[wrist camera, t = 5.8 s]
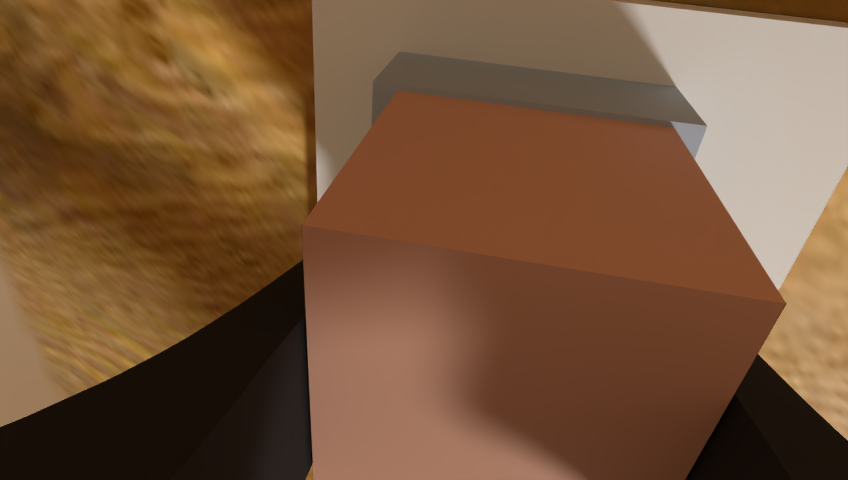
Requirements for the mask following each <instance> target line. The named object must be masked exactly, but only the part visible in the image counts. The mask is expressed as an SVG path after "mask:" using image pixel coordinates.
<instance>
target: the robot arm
mask: <svg viewBox="0 0 848 480" xmlns="http://www.w3.org/2000/svg"><path fill="white" fill-rule="evenodd" d="M312 463H313V456H312V435H311V414H310V393H309V372H308V351H307V329H306V308H305V287H304V266H303V260H302V261H300V262H299V263H298V264H296V265H295V266H294V267H292V268H291V269H289V270H288V271H287V272H285V273H284V274H283V275H281V276H280V277H279V278H277V279H276V280H274V281H273V282H272V283H270V284H269V285H267V286H266V287H264V288H263V289H262V290H260V291H259V292H257V293H256V294H254V295H253V296H252V297H250V298H249V299H247V300H246V301H244V302H243V303H241V304H240V305H238V306H237V307H235V308H234V309H232V310H231V311H229V312H227V313H226V314H224V315H223V316H221V317H219V318H218V319H216V320H215V321H213V322H212V323H210V324H208V325H207V326H205V327H204V328H202V329H200V330H199V331H197V332H196V333H194V334H193V335H191V336H189V337H187V338H186V339H184V340H182V341H181V342H179V343H177V344H175V345H173V346H172V347H170V348H168V349H166V350H165V351H163V352H161V353H159V354H157V355H155V356H153V357H151V358H150V359H148V360H146V361H144V362H142V363H140V364H138V365H136V366H134V367H132V368H130V369H128V370H127V371H125V372H123V373H121V374H119V375H117V376H115V377H113V378H111V379H109V380H106V381H104V382H102V383H100V384H98V385H95V386H93V387H91V388H89V389H87V390H84V391H82V392H80V393H78V394H76V395H73V396H71V397H69V398H67V399H64V400H62V401H60V402H58V403H56V404H53V405H51V406H49V407H47V408H44V409H42V410H40V411H38V412H36V413H34V414H31V415H29V416H27V417H24V418H22V419H20V420H17V421H15V422H12V423H10V424H7V425H5V426H2V427H0V480H305V479H306V477H307V475H308V472H309V470H310V468H311V466H312ZM685 480H848V441H847V440H846V439H845V438H844V437H843V436H842V435H841V434H840V433H839V432H837V431H836V430H835V429H834V428H833V427H832V426H831V425H830V424H829V423H828V422H827V421H826V420H825V419H824V418H823V417H821V416H820V415H819V414H818V413H817V412H816V411H815V410H814V409H813V408H812V407H811V406H810V405H809V404H808V403H807V402H806V401H805V400H804V399H803V398H802V397H801V396H799V395H798V394H797V393H796V392H795V391H794V390H793V389H792V388H791V387H790V386H789V385H788V384H787V383H786V382H785V381H784V380H783V379H782V378H781V377H780V376H779V375H778V374H777V373H776V372H775V371H774V370H773V369H772V368H771V367H770V366H769V365H768V364H767V363H766V362H765V361H764V360H763V359H762V358H761V357H760V356H759V355H758V354H757V356H756V357H755V359H754V361H753V363H752V364H751V366H750V368H749V370H748V371H747V373H746V375H745V377H744V378H743V380H742V382H741V383H740V385H739V387H738V389H737V390H736V392H735V394H734V396H733V397H732V399H731V401H730V403H729V404H728V406H727V408H726V410H725V411H724V413H723V415H722V416H721V418H720V420H719V422H718V423H717V425H716V427H715V429H714V430H713V432H712V434H711V436H710V437H709V439H708V441H707V442H706V444H705V446H704V448H703V449H702V451H701V453H700V455H699V456H698V458H697V460H696V462H695V463H694V465H693V467H692V469H691V470H690V472H689V474H688V475H687V477H686V479H685Z"/></svg>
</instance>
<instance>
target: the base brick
mask: <svg viewBox="0 0 848 480" xmlns="http://www.w3.org/2000/svg"><path fill="white" fill-rule="evenodd" d="M397 91H406V92H413V93H421V94H428V95H435V96H443V97H450V98H458V99H465V100H472V101H480V102H487V103H495V104H502V105H509V106H517V107H524V108H532V109H539V110H546V111H554V112H561V113H569V114H576V115H583V116H591V117H598V118H606V119H613V120H620V121H628V122H635V123H643V124H650V125H657V126H665V127H672V128H675V129H676V131H677V133H678V134H679V136H680V137H681V139H682V140H683V142H684V144H685V145H686V147H687V148H688V150H689V151H690V153H691V155H692V156H693V158H694V159H695V157H696V154H697V152H698V149H699V147H700V144H701V141H702V139H703V136H704V134H705V131H706V128H707V125H706V124H705V122H704V121H703V120H702V119H701V117H700V116H699V115H698V113H697V112H696V111H695V110H694V108H693V107H692V106H691V105H690V103H689V102H688V101H687V100H686V98H685V97H684V96H683V95H682V93H681V92H680V91H679V89H678V88H677V87H673V86H666V85H658V84H650V83H642V82H634V81H627V80H619V79H611V78H603V77H595V76H587V75H580V74H572V73H564V72H556V71H548V70H541V69H533V68H525V67H517V66H509V65H501V64H494V63H486V62H478V61H470V60H462V59H455V58H447V57H439V56H431V55H423V54H416V53H408V52H400V51H399V52H398V54H397V55H396V56H395V57H394V58H393V59H392V60H391V61H390V63H389V64H388V65H387V66H386V67H385V68H384V69H383V70H382V72H381V73H380V74H379V75H378V76H377V77H376V78H375V79H374V81H373V95H372V126H373V124H374V123H375V121H376V120H377V119H378V117H379V116H380V114H381V113H382V112H383V110H384V109H385V107H386V106H387V105H388V103H389V102H390V100H391V99H392V98H393V96H394V95H395V93H396V92H397ZM372 126H371V127H372Z"/></svg>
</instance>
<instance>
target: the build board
mask: <svg viewBox="0 0 848 480" xmlns="http://www.w3.org/2000/svg"><path fill="white" fill-rule="evenodd" d="M312 24H313V60H314V96H315V132H316V168H317V203H318V201H319V200H320V198H321V197H322V196H323V194H324V193H325V191H326V190H327V189H328V187H329V186H330V184H331V183H332V182H333V180H334V179H335V177H336V176H337V175H338V173H339V172H340V170H341V169H342V168H343V166H344V165H345V163H346V162H347V161H348V159H349V158H350V156H351V155H352V154H353V152H354V151H355V149H356V148H357V147H358V145H359V144H360V142H361V141H362V140H363V138H364V137H365V135H366V134H367V133H368V131H369V130H370V128H371V126H372V95H373V81H374V79H375V78H376V77H377V76H378V75H379V74H380V73H381V72H382V70H383V69H384V68H385V67H386V66H387V65H388V64H389V63H390V61H391V60H392V59H393V58H394V57H395V56H396V55H397V54H398V52H399V51H400V52H408V53H416V54H423V55H431V56H439V57H447V58H455V59H462V60H470V61H478V62H486V63H494V64H501V65H509V66H517V67H525V68H533V69H541V70H548V71H556V72H564V73H572V74H580V75H587V76H595V77H603V78H611V79H619V80H627V81H634V82H642V83H650V84H658V85H666V86H673V87H677V88H678V89H679V91H680V92H681V93H682V95H683V96H684V97H685V98H686V100H687V101H688V102H689V103H690V105H691V106H692V107H693V108H694V110H695V111H696V112H697V113H698V115H699V116H700V117H701V119H702V120H703V121H704V122H705V124H706V125H707V128H706V131H705V134H704V136H703V139H702V141H701V144H700V147H699V149H698V152H697V154H696V157H695V161H696V162H697V164H698V166H699V167H700V169H701V170H702V172H703V173H704V175H705V177H706V178H707V180H708V181H709V183H710V184H711V186H712V188H713V189H714V191H715V192H716V194H717V195H718V197H719V199H720V200H721V202H722V203H723V205H724V206H725V208H726V210H727V211H728V213H729V214H730V216H731V217H732V219H733V221H734V222H735V224H736V225H737V227H738V228H739V230H740V232H741V233H742V235H743V236H744V238H745V239H746V241H747V243H748V244H749V246H750V247H751V249H752V250H753V252H754V254H755V255H756V257H757V258H758V260H759V261H760V263H761V265H762V266H763V268H764V269H765V271H766V272H767V274H768V276H769V277H770V279H771V280H772V282H773V283H774V285H775V287H776V288H777V290H779V289H780V287H781V285H782V283H783V281H784V280H785V278H786V276H787V274H788V272H789V271H790V269H791V267H792V265H793V263H794V262H795V260H796V258H797V256H798V254H799V253H800V251H801V249H802V247H803V245H804V244H805V242H806V240H807V238H808V236H809V235H810V233H811V231H812V229H813V227H814V226H815V224H816V222H817V220H818V218H819V217H820V215H821V213H822V211H823V209H824V208H825V206H826V204H827V202H828V200H829V199H830V197H831V195H832V193H833V191H834V190H835V188H836V186H837V184H838V182H839V181H840V179H841V177H842V175H843V173H844V172H845V170H846V168H847V166H848V23H847V22H838V21H829V20H820V19H812V18H803V17H794V16H785V15H776V14H768V13H759V12H750V11H741V10H732V9H723V8H715V7H706V6H697V5H688V4H679V3H670V2H662V1H653V0H312Z"/></svg>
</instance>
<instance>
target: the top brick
mask: <svg viewBox="0 0 848 480" xmlns="http://www.w3.org/2000/svg"><path fill="white" fill-rule="evenodd" d="M302 245H303V266H304V287H305V308H306V329H307V351H308V372H309V393H310V414H311V435H312V456H313V477H314V480H685V479H686V477H687V475H688V474H689V472H690V470H691V469H692V467H693V465H694V463H695V462H696V460H697V458H698V456H699V455H700V453H701V451H702V449H703V448H704V446H705V444H706V442H707V441H708V439H709V437H710V436H711V434H712V432H713V430H714V429H715V427H716V425H717V423H718V422H719V420H720V418H721V416H722V415H723V413H724V411H725V410H726V408H727V406H728V404H729V403H730V401H731V399H732V397H733V396H734V394H735V392H736V390H737V389H738V387H739V385H740V383H741V382H742V380H743V378H744V377H745V375H746V373H747V371H748V370H749V368H750V366H751V364H752V363H753V361H754V359H755V357H756V356H757V354H758V352H759V350H760V349H761V347H762V345H763V344H764V342H765V340H766V338H767V337H768V335H769V333H770V331H771V330H772V328H773V326H774V324H775V323H776V321H777V319H778V318H779V316H780V314H781V312H782V311H783V309H784V307H785V305H786V302H785V301H784V299H783V298H782V296H781V295H780V293H779V291H778V290H777V288H776V287H775V285H774V283H773V282H772V280H771V279H770V277H769V276H768V274H767V272H766V271H765V269H764V268H763V266H762V265H761V263H760V261H759V260H758V258H757V257H756V255H755V254H754V252H753V250H752V249H751V247H750V246H749V244H748V243H747V241H746V239H745V238H744V236H743V235H742V233H741V232H740V230H739V228H738V227H737V225H736V224H735V222H734V221H733V219H732V217H731V216H730V214H729V213H728V211H727V210H726V208H725V206H724V205H723V203H722V202H721V200H720V199H719V197H718V195H717V194H716V192H715V191H714V189H713V188H712V186H711V184H710V183H709V181H708V180H707V178H706V177H705V175H704V173H703V172H702V170H701V169H700V167H699V166H698V164H697V162H696V161H695V159H694V158H693V156H692V155H691V153H690V151H689V150H688V148H687V147H686V145H685V144H684V142H683V140H682V139H681V137H680V136H679V134H678V133H677V131H676V129H675V128H672V127H665V126H657V125H650V124H643V123H635V122H628V121H620V120H613V119H606V118H598V117H591V116H583V115H576V114H569V113H561V112H554V111H546V110H539V109H532V108H524V107H517V106H509V105H502V104H495V103H487V102H480V101H472V100H465V99H458V98H450V97H443V96H435V95H428V94H421V93H413V92H406V91H397V92H396V93H395V95H394V96H393V98H392V99H391V100H390V102H389V103H388V105H387V106H386V107H385V109H384V110H383V112H382V113H381V114H380V116H379V117H378V119H377V120H376V121H375V123H374V124H373V126H372V127H371V128H370V130H369V131H368V133H367V134H366V135H365V137H364V138H363V140H362V141H361V142H360V144H359V145H358V147H357V148H356V149H355V151H354V152H353V154H352V155H351V156H350V158H349V159H348V161H347V162H346V163H345V165H344V166H343V168H342V169H341V170H340V172H339V173H338V175H337V176H336V177H335V179H334V180H333V182H332V183H331V184H330V186H329V187H328V189H327V190H326V191H325V193H324V194H323V196H322V197H321V198H320V200H319V201H318V203H317V204H316V205H315V207H314V208H313V210H312V211H311V212H310V214H309V215H308V217H307V218H306V219H305V221H304V222H303V224H302Z"/></svg>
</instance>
